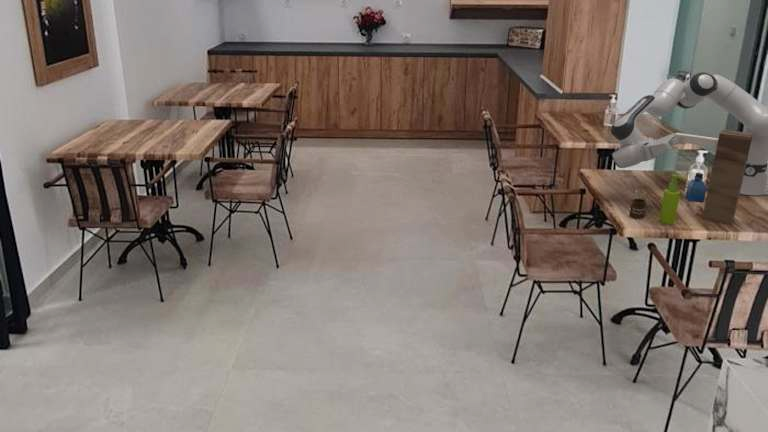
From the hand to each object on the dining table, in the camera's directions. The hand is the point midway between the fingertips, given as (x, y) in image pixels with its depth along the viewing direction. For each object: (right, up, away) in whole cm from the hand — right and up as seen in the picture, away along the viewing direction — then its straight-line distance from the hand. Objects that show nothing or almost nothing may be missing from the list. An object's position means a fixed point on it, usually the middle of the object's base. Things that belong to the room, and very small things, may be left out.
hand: (684, 137), depth 269 cm
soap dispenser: (-7, -35, -1) cm, 36 cm away
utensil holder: (-18, -33, +4) cm, 37 cm away
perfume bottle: (+16, -25, +25) cm, 39 cm away
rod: (+5, -3, -3) cm, 7 cm away
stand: (+15, -34, +3) cm, 37 cm away
